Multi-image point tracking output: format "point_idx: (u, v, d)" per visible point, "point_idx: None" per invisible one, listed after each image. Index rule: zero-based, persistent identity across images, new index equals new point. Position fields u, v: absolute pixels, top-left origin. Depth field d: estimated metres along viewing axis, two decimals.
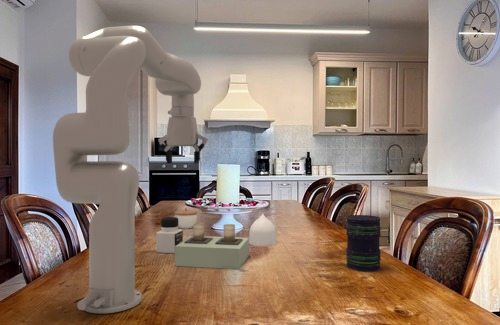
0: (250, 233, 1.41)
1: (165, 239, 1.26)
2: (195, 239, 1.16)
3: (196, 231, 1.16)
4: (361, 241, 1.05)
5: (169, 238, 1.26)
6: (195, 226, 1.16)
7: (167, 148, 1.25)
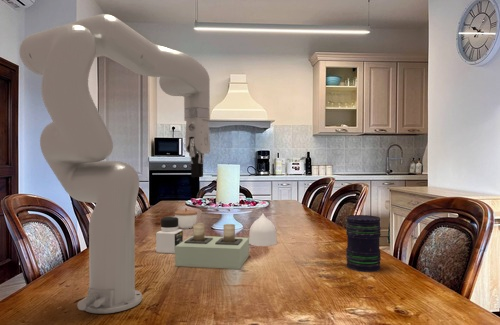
0: (250, 233, 1.41)
1: (165, 239, 1.26)
2: (195, 239, 1.16)
3: (196, 231, 1.16)
4: (361, 241, 1.05)
5: (169, 238, 1.26)
6: (195, 226, 1.16)
7: (200, 160, 1.09)
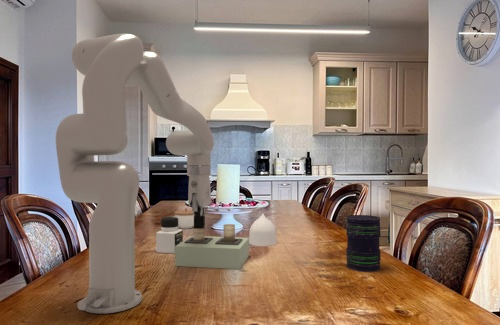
0: (250, 233, 1.41)
1: (165, 239, 1.26)
2: None
3: (196, 235, 1.16)
4: (361, 241, 1.05)
5: (169, 238, 1.26)
6: (195, 230, 1.16)
7: (202, 212, 1.17)
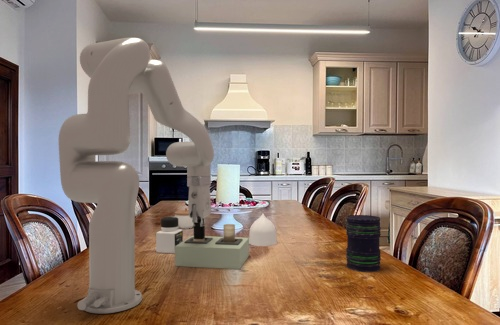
0: (250, 233, 1.41)
1: (165, 239, 1.26)
2: None
3: None
4: (361, 241, 1.05)
5: (169, 238, 1.26)
6: None
7: (202, 223, 1.17)
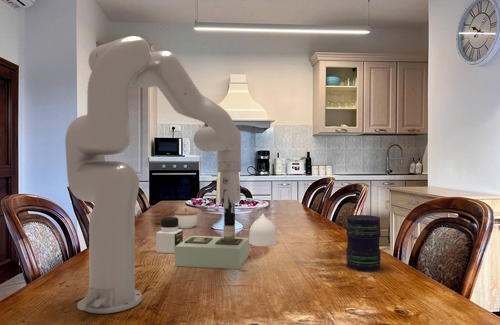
0: (250, 233, 1.41)
1: (165, 239, 1.26)
2: None
3: None
4: (361, 241, 1.05)
5: (169, 238, 1.26)
6: None
7: (233, 209, 1.15)
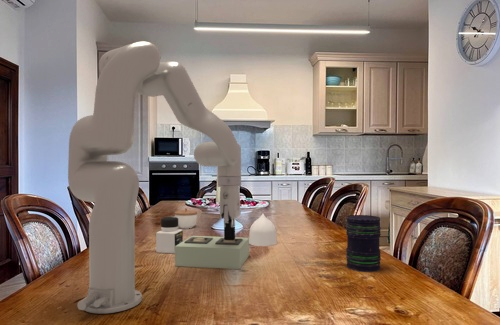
0: (250, 233, 1.41)
1: (165, 239, 1.26)
2: None
3: None
4: (361, 241, 1.05)
5: (169, 238, 1.26)
6: None
7: None
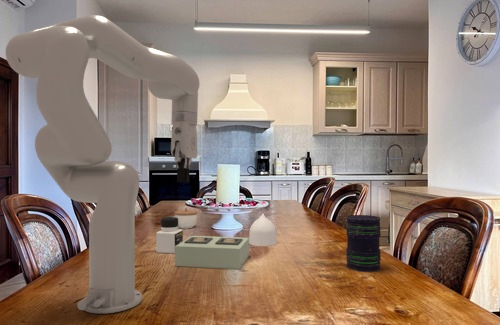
0: (250, 233, 1.41)
1: (165, 239, 1.26)
2: None
3: None
4: (361, 241, 1.05)
5: (169, 238, 1.26)
6: None
7: (186, 164, 1.06)
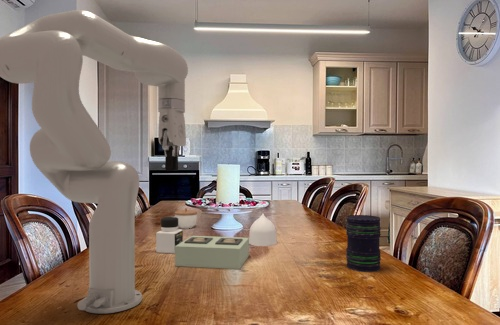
0: (250, 233, 1.41)
1: (165, 239, 1.26)
2: None
3: None
4: (361, 241, 1.05)
5: (169, 238, 1.26)
6: None
7: (175, 152, 1.05)
